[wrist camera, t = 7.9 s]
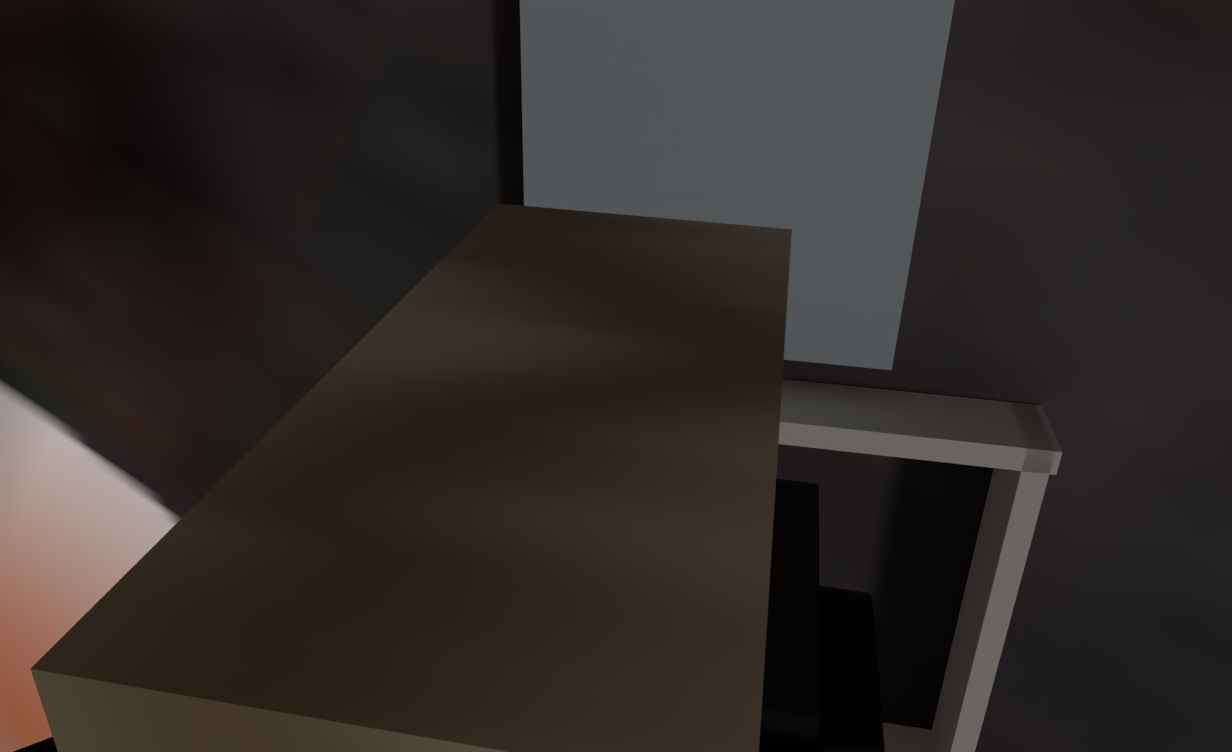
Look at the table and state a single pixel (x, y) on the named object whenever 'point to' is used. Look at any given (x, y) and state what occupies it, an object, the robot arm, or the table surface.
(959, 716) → the frame
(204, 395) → the table surface
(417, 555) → the block
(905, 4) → the mat
